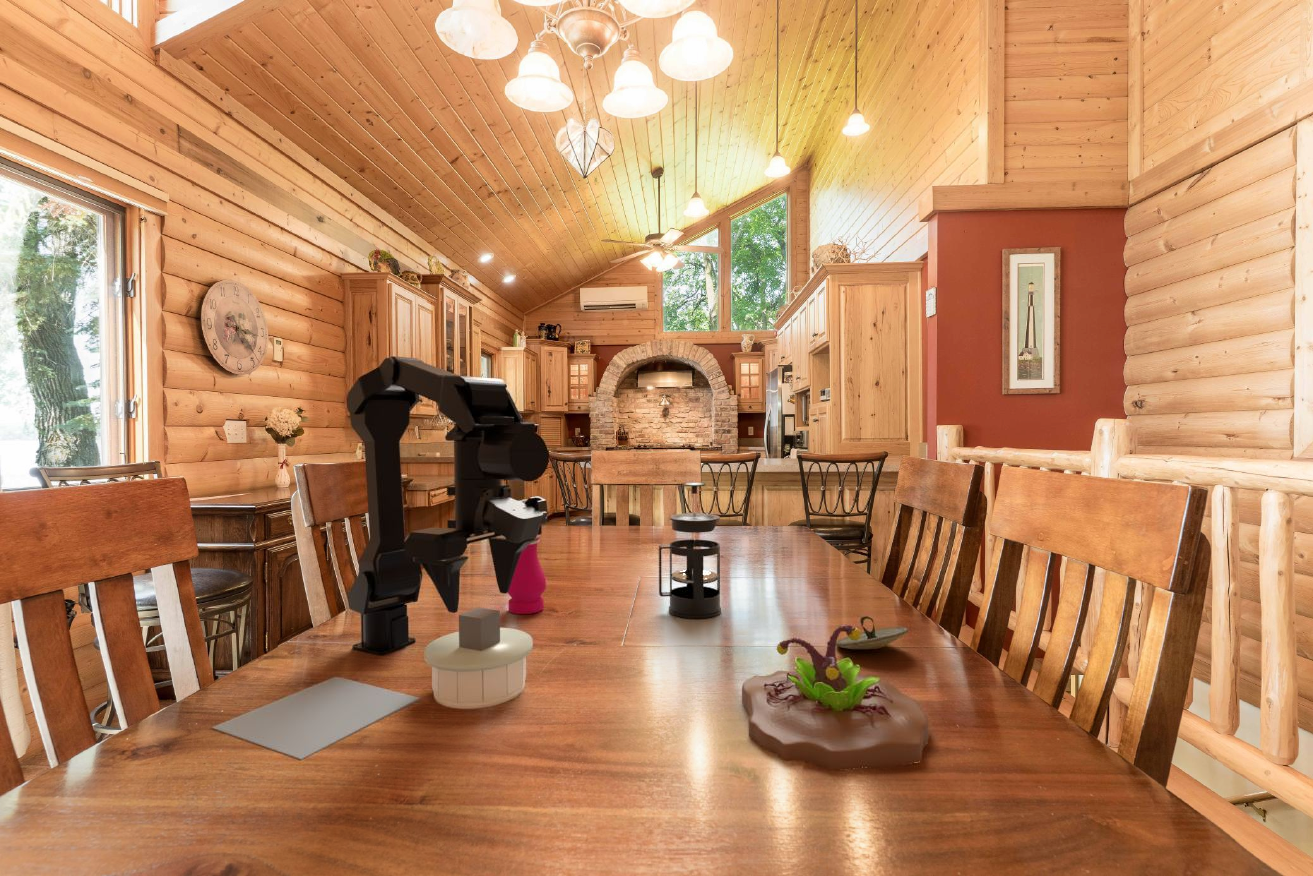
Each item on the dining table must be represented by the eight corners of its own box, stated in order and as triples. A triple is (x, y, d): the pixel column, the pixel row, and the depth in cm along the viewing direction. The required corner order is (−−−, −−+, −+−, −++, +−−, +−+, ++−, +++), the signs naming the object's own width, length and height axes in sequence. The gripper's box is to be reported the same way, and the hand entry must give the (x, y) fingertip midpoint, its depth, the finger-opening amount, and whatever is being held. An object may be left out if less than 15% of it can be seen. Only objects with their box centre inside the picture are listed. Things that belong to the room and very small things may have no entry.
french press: (719, 602, 115) (719, 479, 115) (729, 618, 106) (729, 484, 105) (656, 604, 114) (656, 480, 114) (661, 620, 105) (661, 485, 104)
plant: (961, 778, 58) (962, 661, 58) (753, 773, 59) (753, 658, 59) (892, 688, 78) (893, 600, 78) (738, 685, 79) (738, 599, 79)
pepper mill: (537, 616, 107) (536, 501, 106) (498, 614, 108) (497, 501, 108) (552, 604, 114) (551, 497, 114) (516, 602, 115) (515, 496, 115)
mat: (212, 730, 67) (212, 727, 67) (336, 679, 81) (335, 676, 81) (301, 763, 61) (301, 759, 61) (419, 701, 74) (419, 697, 74)
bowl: (413, 699, 75) (413, 658, 75) (476, 667, 85) (476, 631, 84) (484, 718, 70) (483, 674, 70) (542, 681, 80) (542, 643, 80)
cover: (400, 660, 74) (400, 621, 74) (475, 628, 86) (475, 593, 86) (485, 679, 68) (484, 636, 68) (552, 641, 80) (552, 605, 80)
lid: (883, 670, 83) (883, 634, 83) (821, 650, 91) (821, 616, 90) (921, 652, 90) (921, 618, 90) (860, 634, 97) (860, 603, 97)
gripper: (476, 486, 65) (478, 634, 65) (574, 474, 82) (575, 591, 82) (399, 483, 70) (402, 620, 70) (507, 471, 86) (508, 582, 87)
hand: (479, 602), depth 77 cm, fingers open, 9 cm apart
